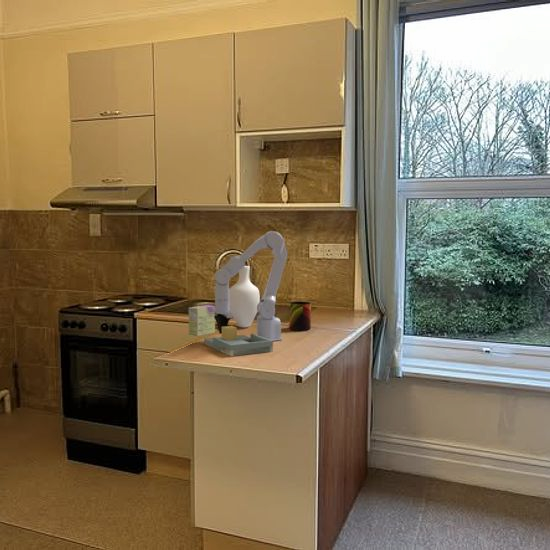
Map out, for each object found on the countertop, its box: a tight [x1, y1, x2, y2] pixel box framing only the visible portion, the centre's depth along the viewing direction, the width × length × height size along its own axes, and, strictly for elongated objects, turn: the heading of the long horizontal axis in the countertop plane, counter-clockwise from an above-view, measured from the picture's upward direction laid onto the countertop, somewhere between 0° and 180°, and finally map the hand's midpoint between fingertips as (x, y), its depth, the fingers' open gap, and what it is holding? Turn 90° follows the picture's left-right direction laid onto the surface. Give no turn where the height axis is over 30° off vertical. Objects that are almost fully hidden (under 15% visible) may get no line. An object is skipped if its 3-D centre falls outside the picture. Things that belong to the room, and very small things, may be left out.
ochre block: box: [221, 325, 238, 340], centre depth 217 cm, size 4×4×4 cm
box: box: [188, 304, 216, 337], centre depth 237 cm, size 10×6×12 cm, turn 141°
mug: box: [288, 301, 312, 332], centre depth 251 cm, size 10×14×12 cm
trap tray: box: [203, 333, 274, 357], centre depth 211 cm, size 17×24×4 cm
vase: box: [229, 265, 261, 329], centre depth 253 cm, size 14×14×28 cm
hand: (222, 333), depth 222 cm, fingers closed
